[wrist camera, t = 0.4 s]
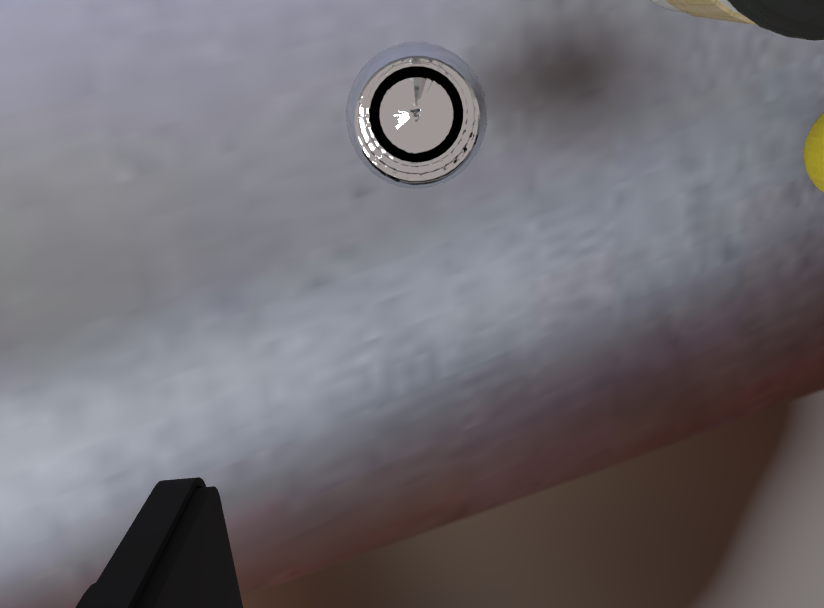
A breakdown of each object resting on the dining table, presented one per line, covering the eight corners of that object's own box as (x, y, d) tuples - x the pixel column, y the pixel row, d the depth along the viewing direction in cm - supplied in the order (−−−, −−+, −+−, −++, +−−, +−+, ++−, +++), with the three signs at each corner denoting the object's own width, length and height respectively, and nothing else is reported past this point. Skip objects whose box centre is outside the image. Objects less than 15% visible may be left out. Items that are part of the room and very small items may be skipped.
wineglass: (476, 54, 37) (506, 48, 25) (462, 167, 39) (484, 207, 27) (365, 42, 37) (345, 29, 25) (356, 155, 38) (333, 191, 27)
